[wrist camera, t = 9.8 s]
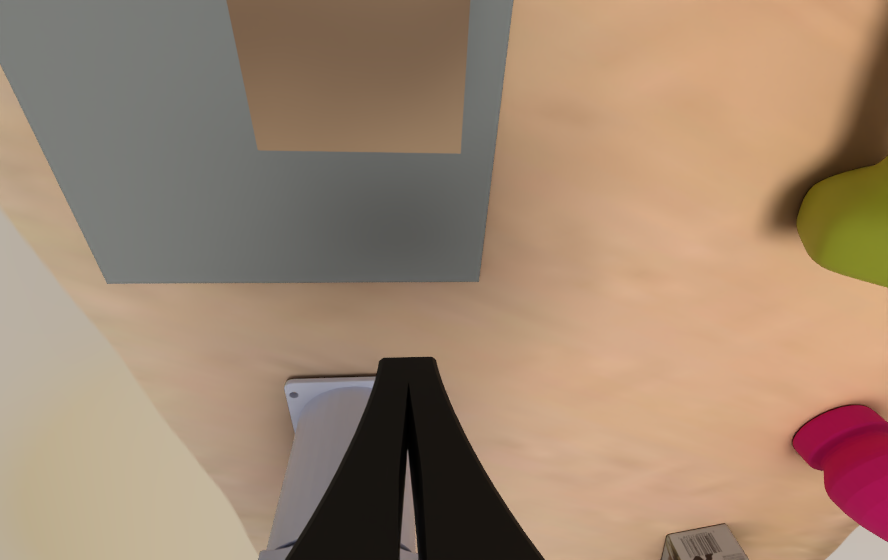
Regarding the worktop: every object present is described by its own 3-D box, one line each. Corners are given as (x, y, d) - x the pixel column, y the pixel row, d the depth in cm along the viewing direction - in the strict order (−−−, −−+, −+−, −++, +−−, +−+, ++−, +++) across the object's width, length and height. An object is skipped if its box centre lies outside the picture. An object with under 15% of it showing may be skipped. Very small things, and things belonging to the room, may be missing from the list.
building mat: (477, 277, 21) (478, 281, 21) (112, 278, 19) (107, 283, 19) (523, -105, 13) (526, -109, 13) (-100, -168, 11) (-115, -174, 11)
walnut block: (443, 113, 13) (460, 153, 9) (300, 109, 13) (257, 150, 9) (449, -68, 11) (477, -115, 7) (272, -82, 10) (197, -137, 6)
